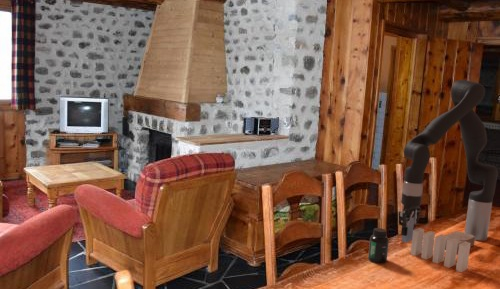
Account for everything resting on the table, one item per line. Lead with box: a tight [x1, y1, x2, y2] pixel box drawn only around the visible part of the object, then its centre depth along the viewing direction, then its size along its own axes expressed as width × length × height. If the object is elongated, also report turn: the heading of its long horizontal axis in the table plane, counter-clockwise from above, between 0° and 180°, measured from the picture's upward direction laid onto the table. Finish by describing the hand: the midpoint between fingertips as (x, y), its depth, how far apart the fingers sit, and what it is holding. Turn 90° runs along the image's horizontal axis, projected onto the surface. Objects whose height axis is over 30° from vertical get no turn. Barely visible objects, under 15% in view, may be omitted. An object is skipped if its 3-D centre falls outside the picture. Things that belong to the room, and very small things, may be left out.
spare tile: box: [400, 217, 414, 243], centre depth 181 cm, size 5×2×10 cm, turn 132°
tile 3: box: [420, 230, 436, 260], centre depth 175 cm, size 5×2×10 cm, turn 132°
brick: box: [444, 230, 476, 253], centre depth 189 cm, size 17×8×5 cm, turn 127°
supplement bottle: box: [368, 227, 390, 265], centre depth 170 cm, size 7×7×12 cm
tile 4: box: [432, 233, 446, 264], centre depth 172 cm, size 5×2×10 cm, turn 132°
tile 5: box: [443, 238, 458, 269], centre depth 169 cm, size 5×2×10 cm, turn 132°
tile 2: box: [410, 227, 425, 257], centre depth 179 cm, size 5×2×10 cm, turn 132°
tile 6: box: [455, 242, 471, 273], centre depth 165 cm, size 5×2×10 cm, turn 132°
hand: (407, 233), depth 181 cm, fingers closed on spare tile, 5 cm apart
